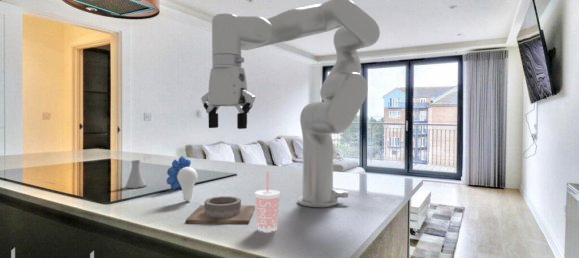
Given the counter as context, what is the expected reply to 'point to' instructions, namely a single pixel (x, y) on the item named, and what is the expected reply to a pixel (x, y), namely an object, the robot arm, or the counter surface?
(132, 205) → the counter surface
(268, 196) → the beverage cup
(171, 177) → the grapes
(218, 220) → the coaster board
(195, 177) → the lightbulb
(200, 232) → the counter surface
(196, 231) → the counter surface
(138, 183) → the flask
